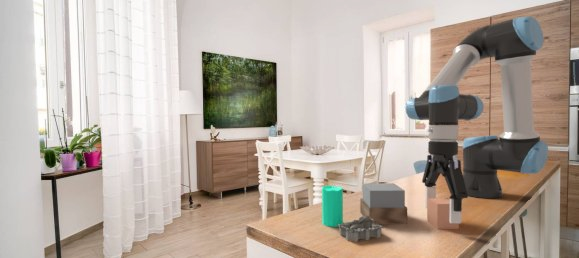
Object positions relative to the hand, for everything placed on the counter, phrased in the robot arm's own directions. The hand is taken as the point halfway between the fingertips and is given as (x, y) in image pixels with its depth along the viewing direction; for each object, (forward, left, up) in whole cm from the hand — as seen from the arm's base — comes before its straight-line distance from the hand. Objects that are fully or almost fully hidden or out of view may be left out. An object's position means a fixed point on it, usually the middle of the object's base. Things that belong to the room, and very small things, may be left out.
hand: (442, 215), depth 87 cm
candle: (+31, -3, -3) cm, 31 cm away
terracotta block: (0, 0, -3) cm, 3 cm away
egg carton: (+25, +6, -3) cm, 26 cm away
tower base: (+15, -7, -3) cm, 17 cm away
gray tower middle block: (+15, -7, +2) cm, 16 cm away
